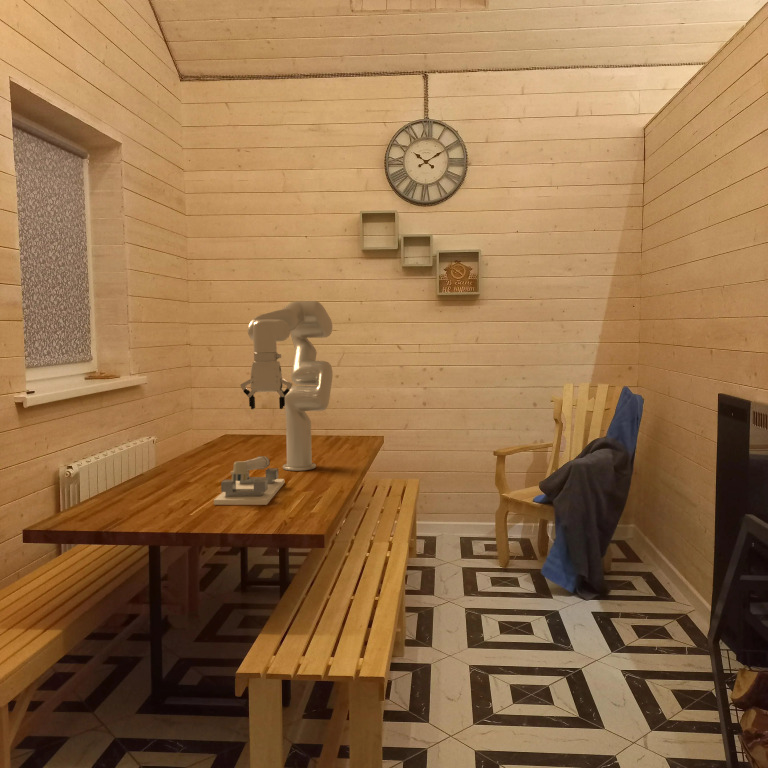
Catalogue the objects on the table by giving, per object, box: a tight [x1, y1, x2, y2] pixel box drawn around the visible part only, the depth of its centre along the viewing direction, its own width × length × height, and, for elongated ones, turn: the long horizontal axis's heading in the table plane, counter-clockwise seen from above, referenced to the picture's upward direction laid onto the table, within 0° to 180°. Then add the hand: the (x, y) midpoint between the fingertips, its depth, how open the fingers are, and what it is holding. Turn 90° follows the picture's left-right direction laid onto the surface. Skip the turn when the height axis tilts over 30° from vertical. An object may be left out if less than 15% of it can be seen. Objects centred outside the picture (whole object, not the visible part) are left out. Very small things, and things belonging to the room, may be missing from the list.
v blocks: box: [220, 467, 279, 497], centre depth 220 cm, size 22×14×4 cm, turn 178°
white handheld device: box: [230, 455, 271, 481], centre depth 219 cm, size 5×7×25 cm
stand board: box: [213, 478, 285, 506], centre depth 220 cm, size 30×16×2 cm, turn 178°
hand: (267, 408), depth 229 cm, fingers open, 9 cm apart
